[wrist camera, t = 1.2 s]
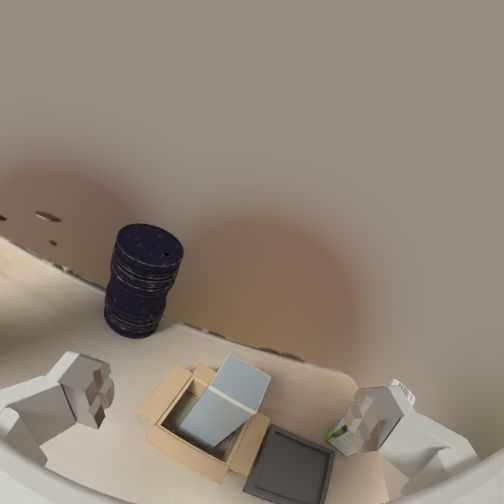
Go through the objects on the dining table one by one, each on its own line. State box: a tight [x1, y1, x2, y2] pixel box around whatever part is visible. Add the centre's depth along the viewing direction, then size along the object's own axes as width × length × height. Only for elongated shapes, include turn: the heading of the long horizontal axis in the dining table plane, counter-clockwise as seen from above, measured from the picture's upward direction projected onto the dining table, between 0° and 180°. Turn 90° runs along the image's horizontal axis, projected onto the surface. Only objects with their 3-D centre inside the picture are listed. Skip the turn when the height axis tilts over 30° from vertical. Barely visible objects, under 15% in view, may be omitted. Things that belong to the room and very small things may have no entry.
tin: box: [175, 353, 271, 451], centre depth 28 cm, size 5×5×14 cm
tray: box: [243, 424, 335, 504], centre depth 29 cm, size 12×12×1 cm
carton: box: [137, 363, 271, 484], centre depth 30 cm, size 15×15×4 cm
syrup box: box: [326, 379, 415, 457], centre depth 34 cm, size 6×6×14 cm
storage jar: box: [104, 223, 184, 339], centre depth 39 cm, size 10×10×15 cm
